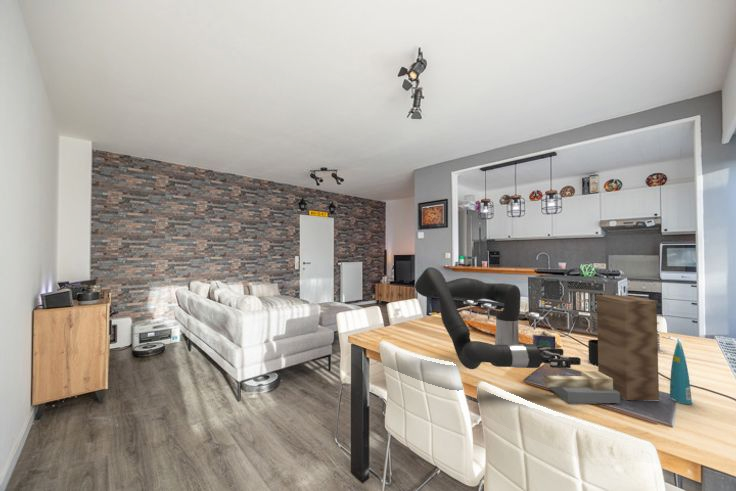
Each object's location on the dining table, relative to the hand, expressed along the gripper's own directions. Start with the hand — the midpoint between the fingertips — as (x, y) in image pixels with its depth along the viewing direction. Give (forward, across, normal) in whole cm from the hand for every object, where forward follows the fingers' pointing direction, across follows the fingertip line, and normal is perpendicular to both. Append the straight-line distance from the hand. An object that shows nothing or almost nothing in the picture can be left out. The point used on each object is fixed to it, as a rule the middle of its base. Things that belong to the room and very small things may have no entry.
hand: (571, 356), depth 98 cm
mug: (+33, -29, -13) cm, 46 cm away
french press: (+68, -48, -13) cm, 84 cm away
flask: (+14, -41, -13) cm, 45 cm away
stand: (+20, -3, -13) cm, 24 cm away
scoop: (+1, 0, -10) cm, 10 cm away
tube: (+33, +2, -13) cm, 35 cm away
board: (+4, 0, -13) cm, 14 cm away
